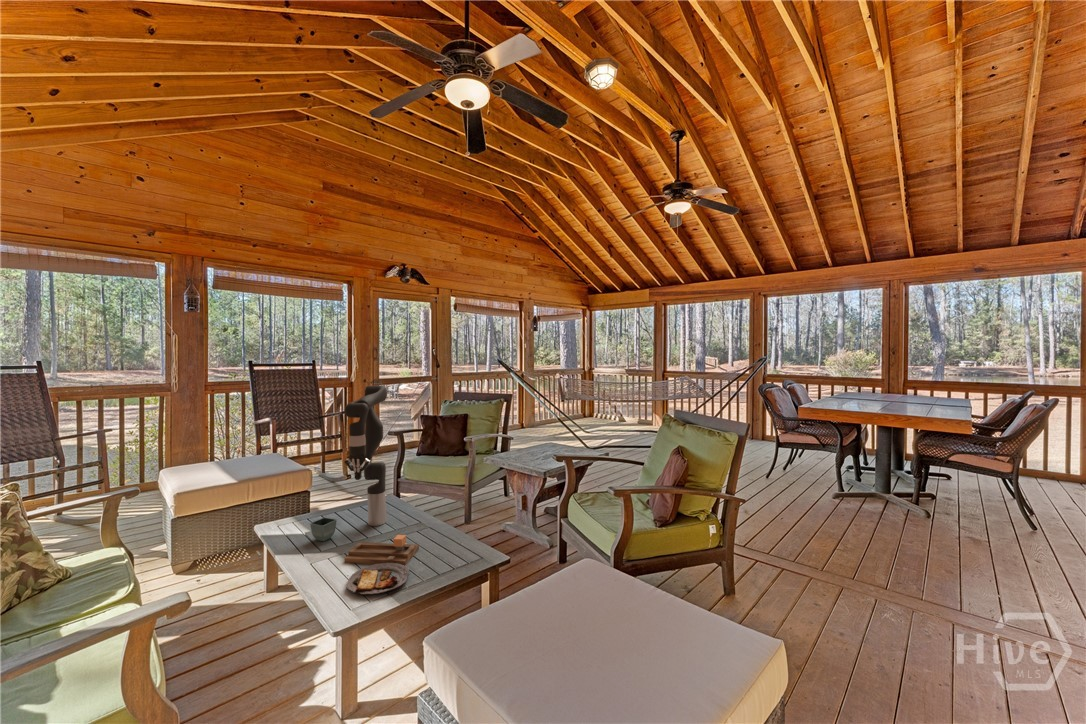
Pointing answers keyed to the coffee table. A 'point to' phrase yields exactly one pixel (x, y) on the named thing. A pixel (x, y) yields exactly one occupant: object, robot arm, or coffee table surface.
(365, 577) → the food plate
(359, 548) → the console
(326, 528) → the flower pot
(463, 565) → the coffee table surface
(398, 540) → the fader
